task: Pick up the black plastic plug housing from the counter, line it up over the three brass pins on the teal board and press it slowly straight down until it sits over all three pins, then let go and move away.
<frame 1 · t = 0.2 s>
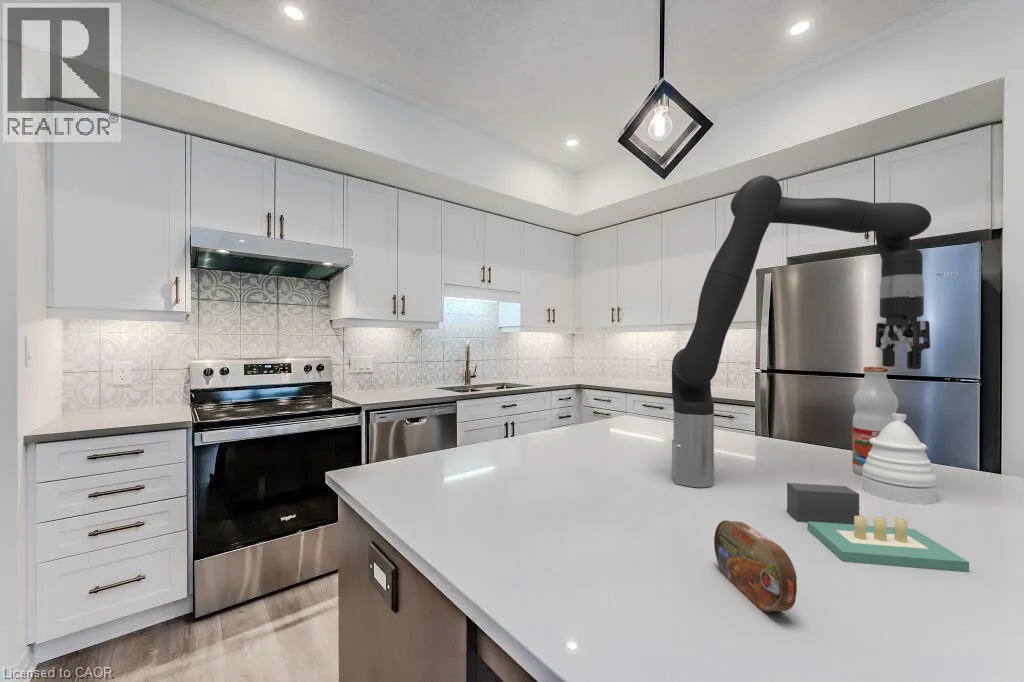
hand: (900, 367, 101), 29 cm above the countertop, tool pointing down, fingers open, 8 cm apart
plug housing: (821, 518, 87), on the countertop
header board: (880, 548, 75), on the countertop
honey pot: (898, 495, 101), on the countertop
fruit juice: (875, 475, 116), on the countertop
tin: (751, 593, 62), on the countertop
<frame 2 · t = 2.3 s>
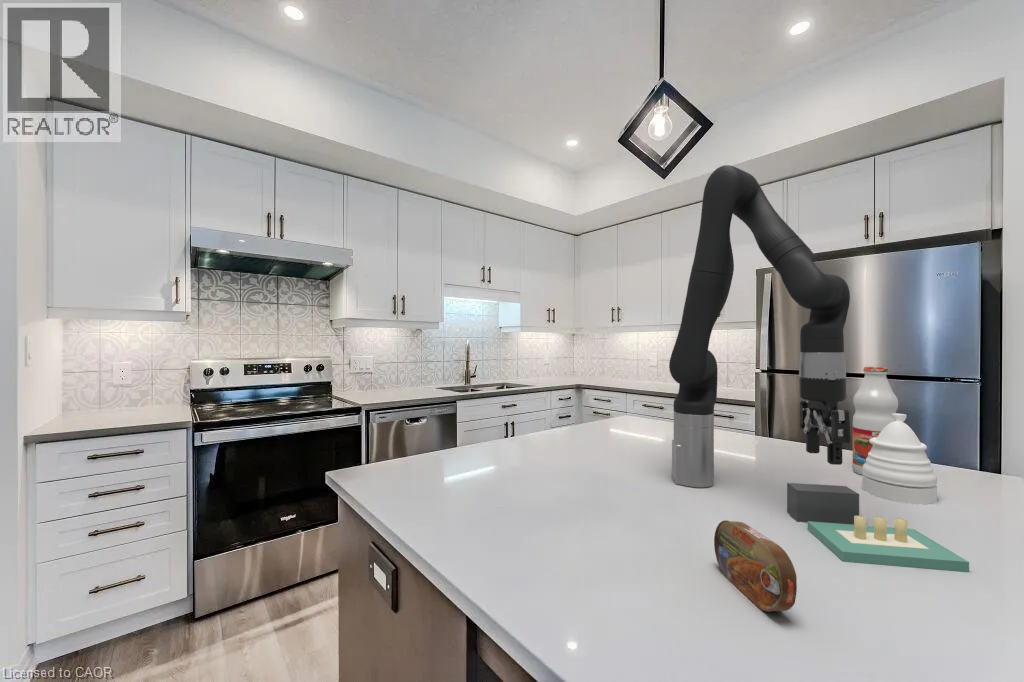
hand: (823, 458, 87), 12 cm above the countertop, tool pointing down, fingers open, 8 cm apart
nothing on the countertop moved.
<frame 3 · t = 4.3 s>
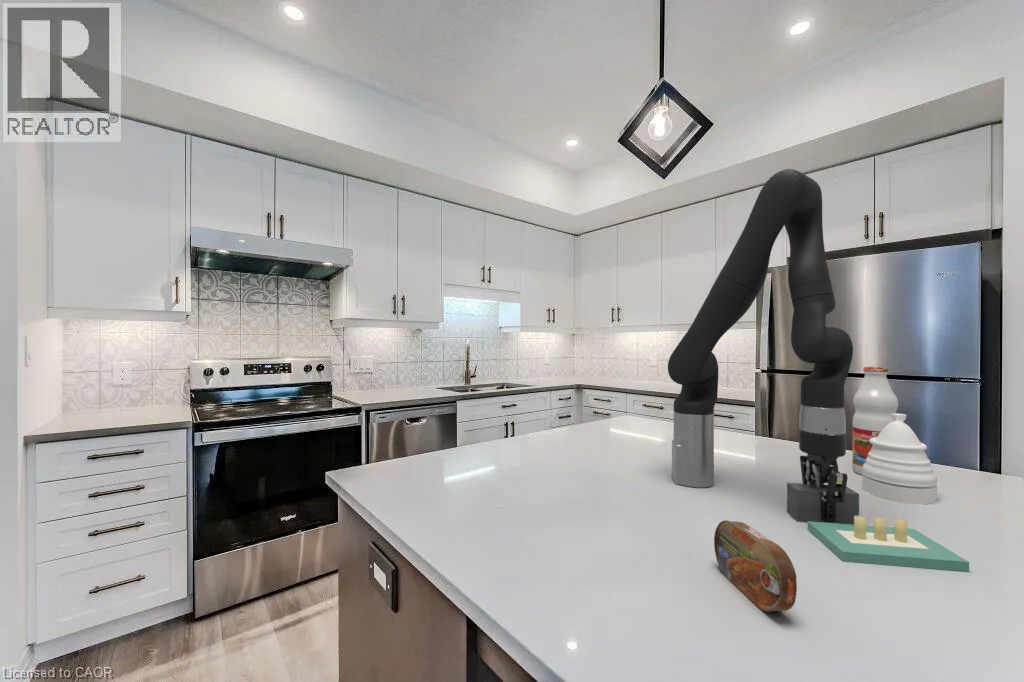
hand: (821, 515, 87), 1 cm above the countertop, tool pointing down, fingers closed on plug housing, 4 cm apart
plug housing: (821, 518, 87), on the countertop, touching gripper
everything else where it was.
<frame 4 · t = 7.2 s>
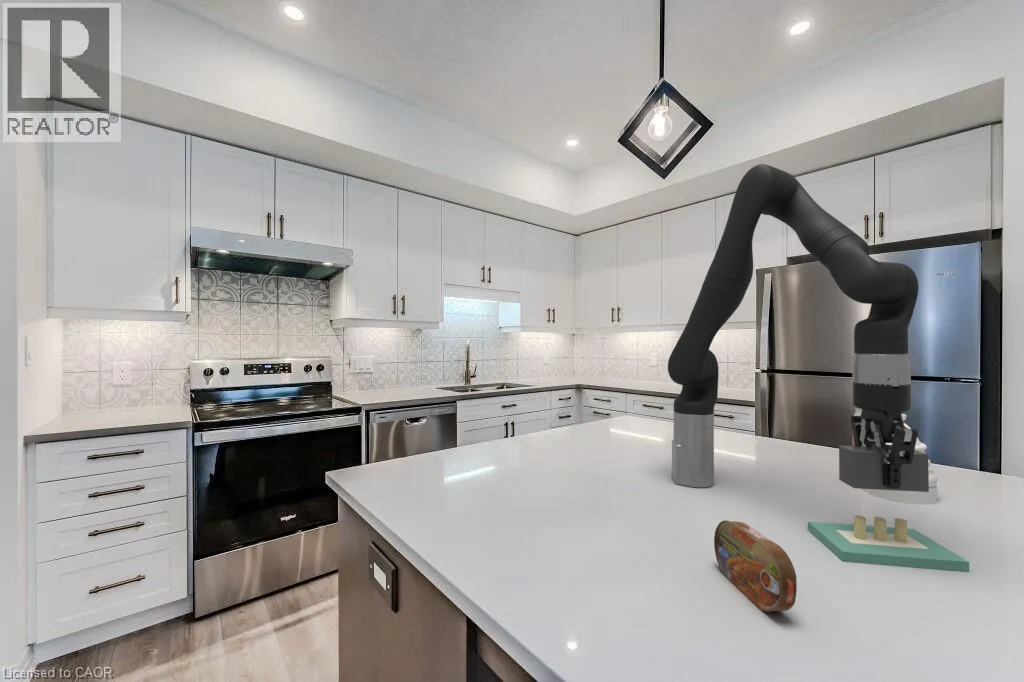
hand: (881, 482, 75), 11 cm above the countertop, tool pointing down, fingers closed on plug housing, 4 cm apart
plug housing: (882, 485, 75), point 11 cm above the countertop, touching gripper
everything else where it was.
when the fingers open (2 cm above the countertop, at t = 10.2 s): plug housing stays where it is, resting on header board.
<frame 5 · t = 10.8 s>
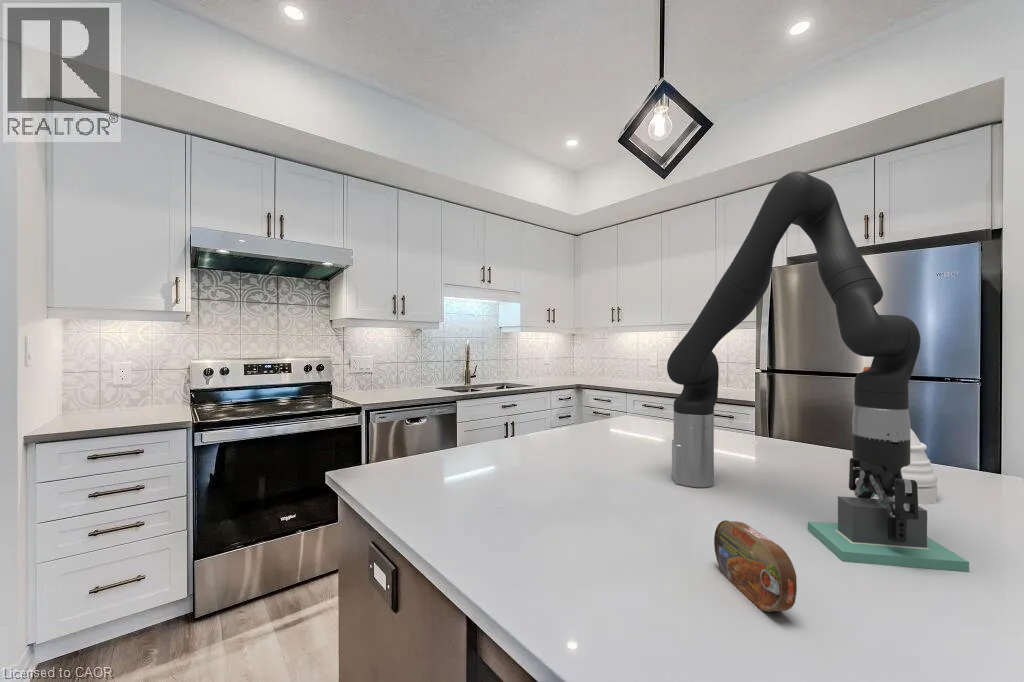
hand: (880, 530, 75), 3 cm above the countertop, tool pointing down, fingers open, 8 cm apart
plug housing: (880, 538, 75), point 2 cm above the countertop, touching header board
everything else where it was.
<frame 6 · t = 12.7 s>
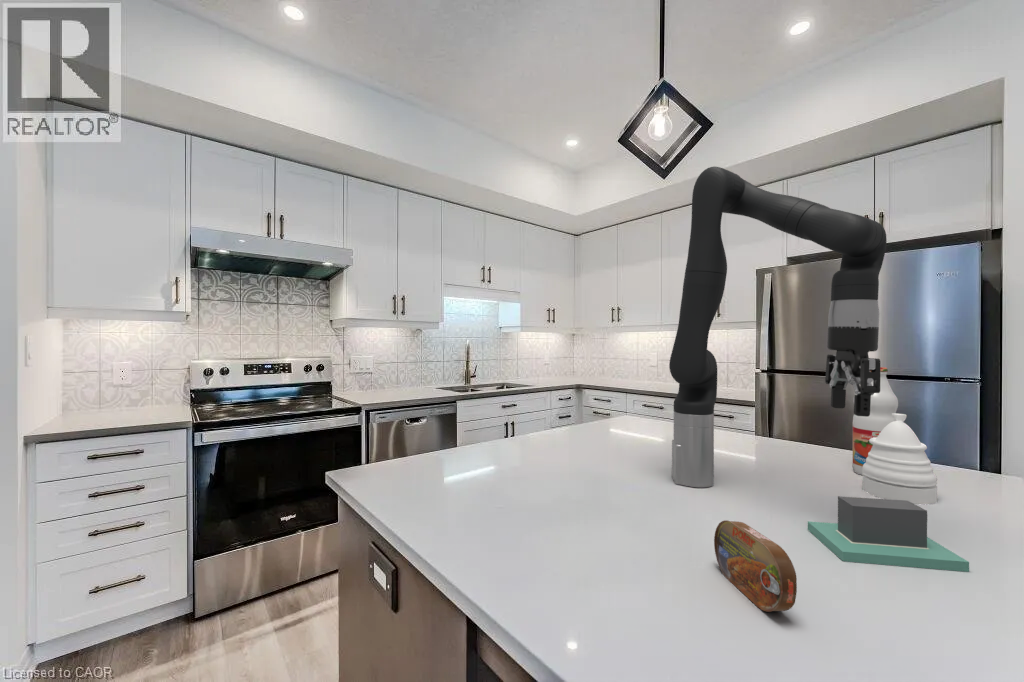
hand: (849, 411, 83), 22 cm above the countertop, tool pointing down, fingers open, 8 cm apart
nothing on the countertop moved.
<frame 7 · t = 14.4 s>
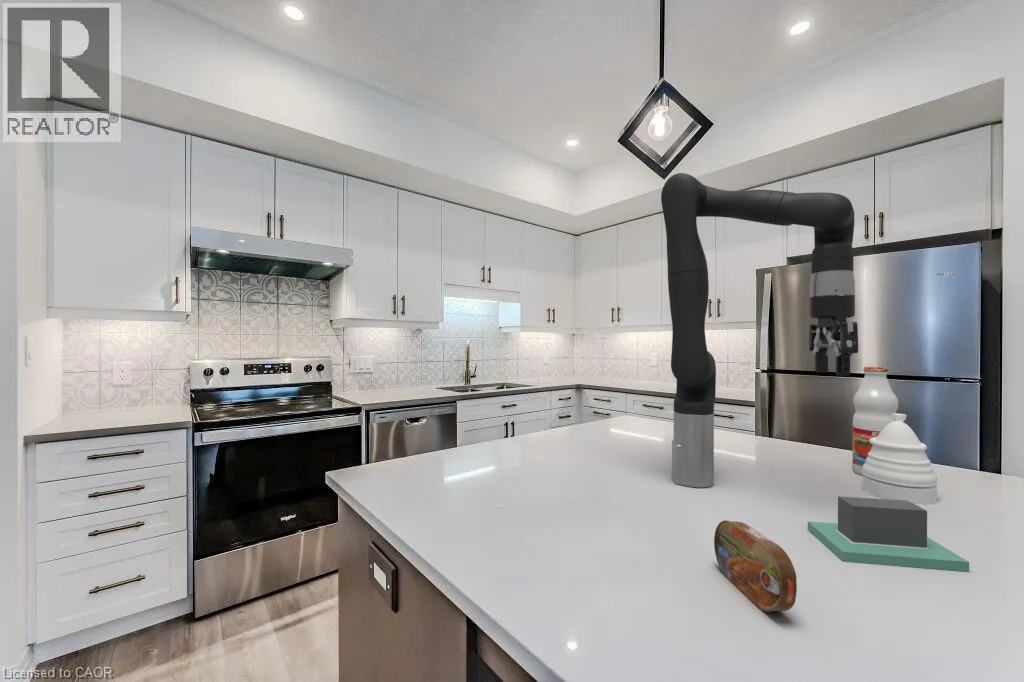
hand: (831, 373, 91), 28 cm above the countertop, tool pointing down, fingers open, 8 cm apart
nothing on the countertop moved.
at the end: plug housing 0.1 cm off-centre on the header board, point 1.6 cm above the header board's base; plug housing tilted 0°; the gripper is holding nothing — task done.
